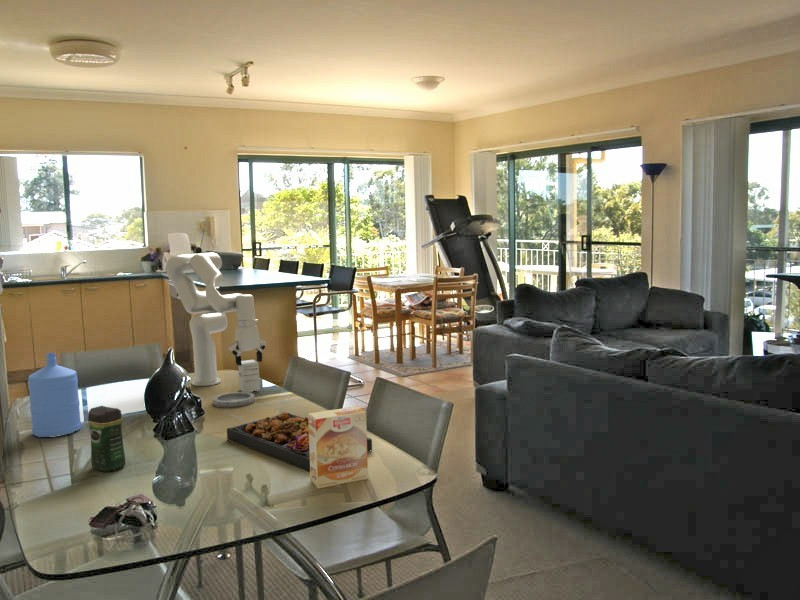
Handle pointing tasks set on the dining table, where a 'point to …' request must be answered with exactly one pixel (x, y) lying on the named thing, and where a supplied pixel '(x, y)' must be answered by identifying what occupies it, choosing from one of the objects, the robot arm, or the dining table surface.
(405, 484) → the dining table surface
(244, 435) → the food platter
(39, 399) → the water jug
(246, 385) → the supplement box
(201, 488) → the dining table surface
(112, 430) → the coffee jar
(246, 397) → the saucer
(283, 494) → the dining table surface
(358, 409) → the coffeecake box
